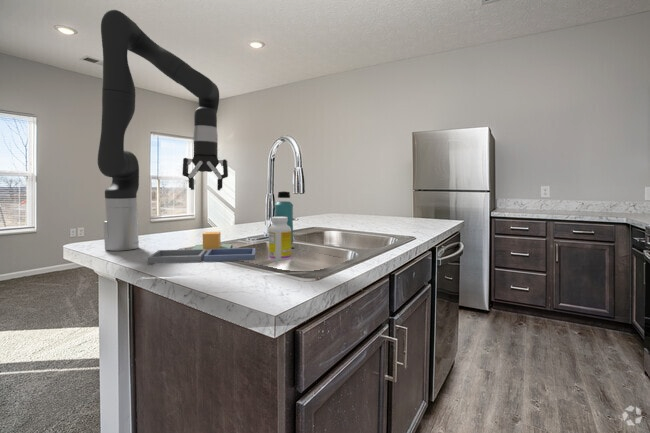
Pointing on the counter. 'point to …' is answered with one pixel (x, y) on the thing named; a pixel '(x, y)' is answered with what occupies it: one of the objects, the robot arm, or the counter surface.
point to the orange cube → (211, 240)
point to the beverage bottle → (285, 210)
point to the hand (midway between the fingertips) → (205, 190)
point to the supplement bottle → (279, 239)
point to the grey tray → (177, 256)
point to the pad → (223, 246)
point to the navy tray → (230, 254)
